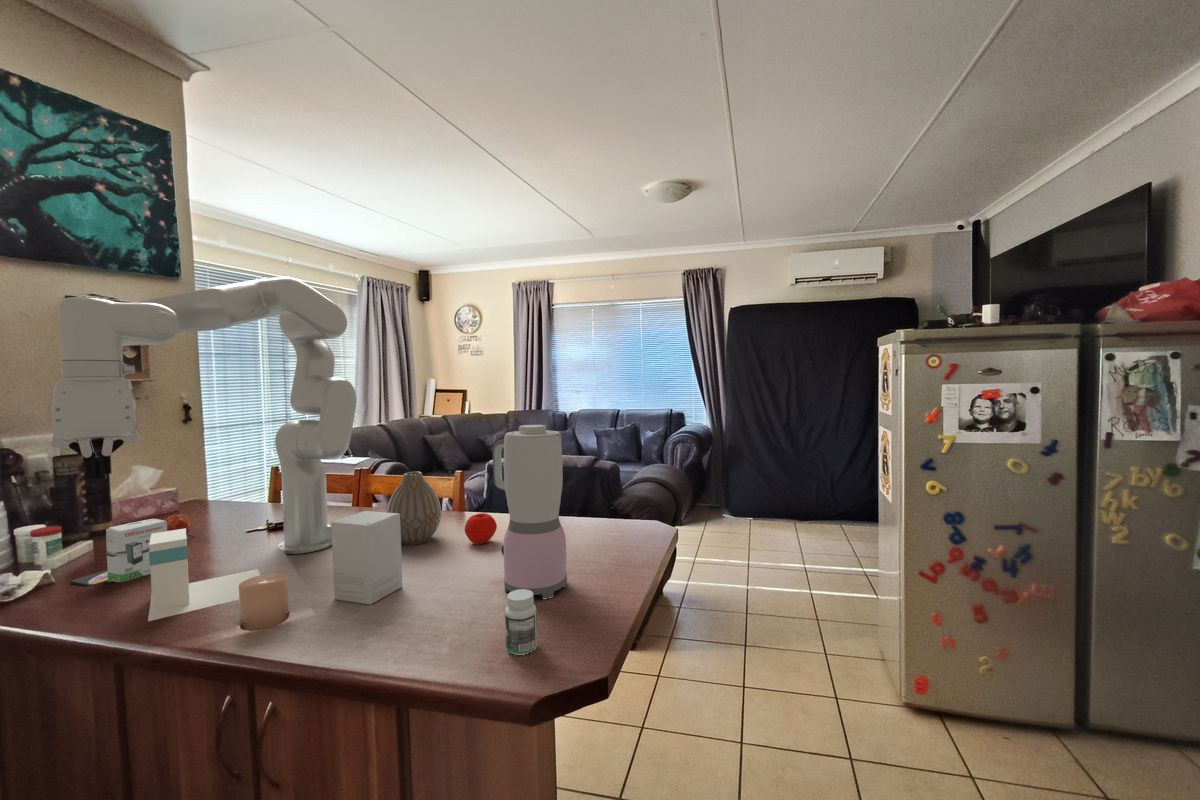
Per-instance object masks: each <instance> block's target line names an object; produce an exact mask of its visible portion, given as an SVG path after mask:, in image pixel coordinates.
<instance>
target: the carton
mask: <svg viewBox="0 0 1200 800" xmlns="http://www.w3.org/2000/svg"><path fill="white" fill-rule="evenodd" d="M149 560H150V571H151V574H150V584H151V587H150V588H151V596H152V607H153V612H157V611H161V610H165V609H170V608H174V607H179V606H183V605H187V604H190V603H189V583H190V582H189V581H190V580H189V579H190V578H189V564H188V563H189V562H188V535H186V528H185V529H178V530H172V531H166V532H159V533H153V534H151V538H150V543H149Z"/></svg>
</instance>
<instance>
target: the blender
mask: <svg viewBox="0 0 1200 800" xmlns="http://www.w3.org/2000/svg"><path fill="white" fill-rule="evenodd" d="M503 438H504V439H500V440H498V441H496V442H495V444H494V445H493V448H492V469H493V483H494V485H495V487H496V488H498V489H499V490H502V491H504V492H505V497H506V502H507V503H506V505H507V508H508V514H509V524H508V525H507V526H508V527H507V529H506V532H505V533H504V537H503V545H502V546H501V555H502V556H503V569H504V570H503V571H504V572H503V574H504V578H503V580H504V581H503V582H504V585H503V586H504V592H505V591H507V592H512V591H514V590H519V589H526V590H530V591H532V592H533V595H534V596H536V595H541V598H549V597H552V596H553V597H554V594H555V592H556V591H558V590H560V589H562V588H563V587H564V586H565V587H566V588H567V583H568V582H567V581H568V577H567V575H568V574H567V541H566V540H567V539H566V534H565V531H564V528H563V526H562V524H561V522H560V516H559V515H560V514H559V513H560V506H561V500H562V499H561V498H562V491H563V483H564V482H563V480H564V479H563V477H564V476H563V474H564V473H563V470H564V469H563V467H564V466H563V463H564V462H563V461H564V460H563V449H562V447H563V445H562V434H561V433H560V432H559V431H557V430H549V429H548V430H547V427H546V425H545V424H523V425H520V426H519V427H518V430H515V431H509V432H506V433H505V434H504V437H503ZM502 450H503V461H502ZM502 462H503V465H502ZM502 467H503V469H502Z"/></svg>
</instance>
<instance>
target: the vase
mask: <svg viewBox="0 0 1200 800" xmlns="http://www.w3.org/2000/svg"><path fill="white" fill-rule="evenodd" d="M436 493H437V492H435V489H433V487H432V486H431V485H430V484H429V483H428V482H427V481H426V480H425V477H424V476H423V472H422V471H409V472H405V473H403V477H402V479H401V482H400V483H399V485H398V486H397V487H396V488H395V490H394V491H393V493H392V494H391V496H390V498H389V500H388V503H387V507H386V513H398V514H400V529H401V545H407V546H412V545H420V544H423V543H426V542H428V541H429V540H430V539H431V538H432V537H433V536H434V534H435V533H436V532H437V530H438V528H439V525H440V523H441V517H442V510H441V509H442V508H441V503H440V499H439V497H438V495H437V494H436Z"/></svg>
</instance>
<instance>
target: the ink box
mask: <svg viewBox="0 0 1200 800" xmlns="http://www.w3.org/2000/svg"><path fill="white" fill-rule="evenodd" d="M164 520H165V519H163V520H162V519H159V518H149V519H144V520H138V521H135V522H134V521H133V522H128V523H125V524H119V525H114V526H110V527H108V528H107V529H105V543H106V563H107V565H106V566H107V568H106V570H108V582H107V583H111V582H116V583H124V582H128V581H131V580H135V579H138V578H141V577H144V576H148V575H151V571H150V560H149V543H150V538H151V534H153V533H159V532H166V531H167V521H164Z"/></svg>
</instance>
